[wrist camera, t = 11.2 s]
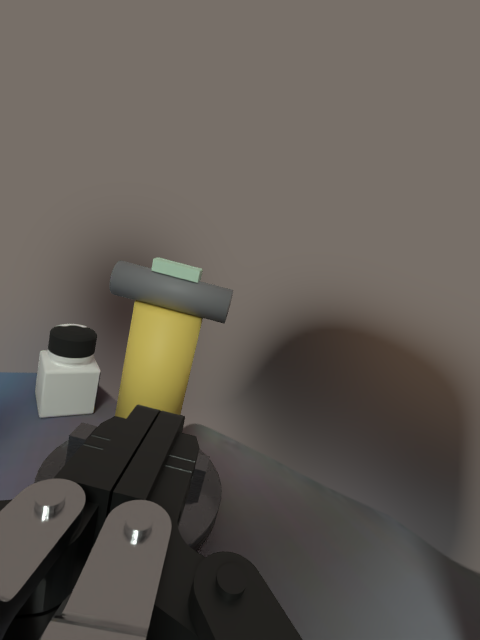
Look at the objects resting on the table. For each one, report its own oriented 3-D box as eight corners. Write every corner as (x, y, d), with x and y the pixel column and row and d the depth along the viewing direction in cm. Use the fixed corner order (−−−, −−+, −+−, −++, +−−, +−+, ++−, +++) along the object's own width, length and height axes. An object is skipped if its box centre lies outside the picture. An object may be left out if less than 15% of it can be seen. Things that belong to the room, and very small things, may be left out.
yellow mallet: (190, 464, 39) (238, 274, 33) (177, 506, 33) (232, 284, 27) (102, 441, 39) (134, 247, 33) (73, 479, 33) (106, 251, 27)
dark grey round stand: (220, 477, 46) (236, 423, 44) (194, 626, 28) (218, 546, 26) (86, 441, 46) (96, 386, 44) (-23, 568, 28) (-15, 484, 26)
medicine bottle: (94, 414, 52) (107, 338, 49) (38, 419, 48) (49, 336, 45) (84, 390, 58) (96, 321, 55) (34, 393, 53) (43, 318, 51)
